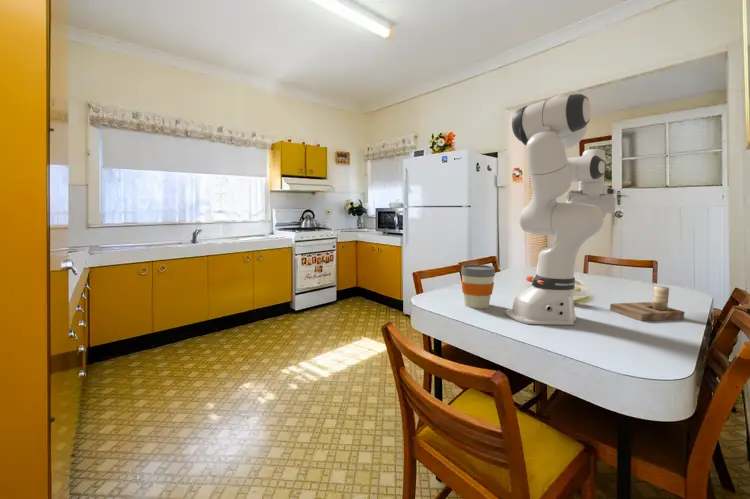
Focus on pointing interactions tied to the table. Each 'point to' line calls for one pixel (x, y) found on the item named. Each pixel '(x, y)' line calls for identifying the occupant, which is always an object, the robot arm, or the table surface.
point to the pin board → (645, 311)
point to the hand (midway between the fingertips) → (588, 224)
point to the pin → (660, 298)
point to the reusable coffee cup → (477, 285)
